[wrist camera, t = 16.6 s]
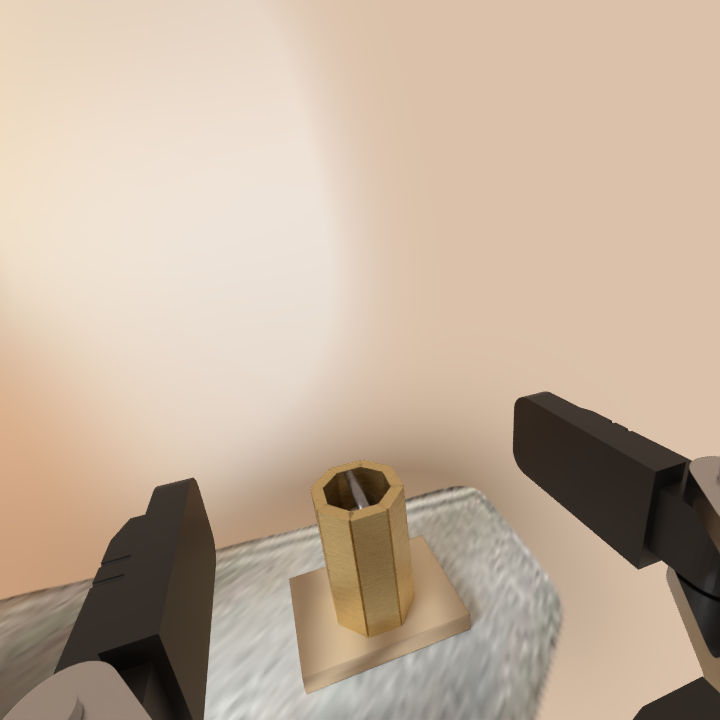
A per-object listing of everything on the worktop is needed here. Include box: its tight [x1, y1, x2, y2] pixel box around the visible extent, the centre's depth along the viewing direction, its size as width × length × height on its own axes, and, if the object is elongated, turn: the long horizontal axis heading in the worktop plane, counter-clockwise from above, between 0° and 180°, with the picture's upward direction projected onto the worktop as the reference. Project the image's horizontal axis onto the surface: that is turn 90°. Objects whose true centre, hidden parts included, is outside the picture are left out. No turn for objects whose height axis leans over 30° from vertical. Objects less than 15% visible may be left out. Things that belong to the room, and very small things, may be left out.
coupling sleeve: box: [311, 460, 415, 638], centre depth 28 cm, size 6×6×10 cm
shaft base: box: [289, 507, 470, 694], centre depth 29 cm, size 12×8×10 cm, turn 106°
